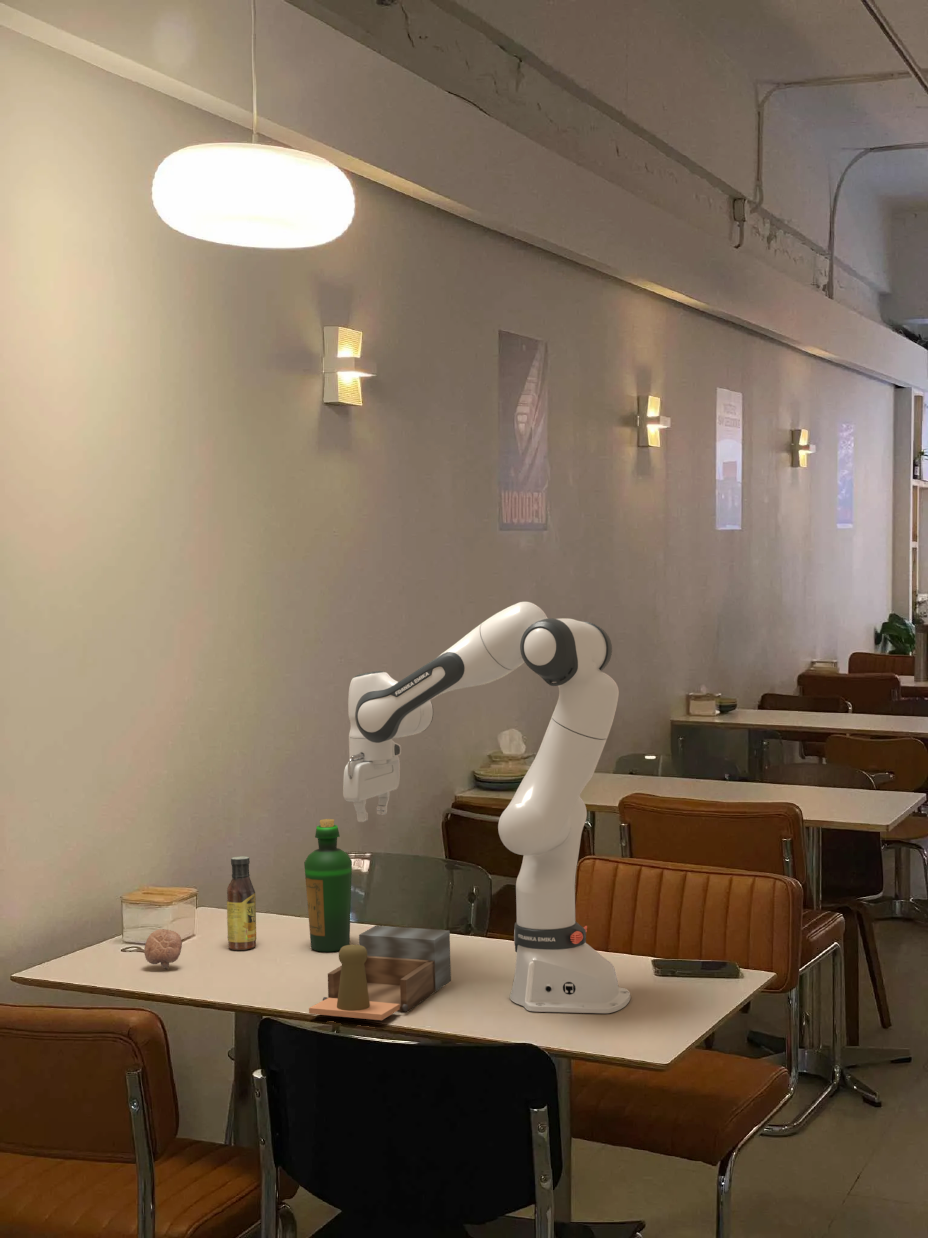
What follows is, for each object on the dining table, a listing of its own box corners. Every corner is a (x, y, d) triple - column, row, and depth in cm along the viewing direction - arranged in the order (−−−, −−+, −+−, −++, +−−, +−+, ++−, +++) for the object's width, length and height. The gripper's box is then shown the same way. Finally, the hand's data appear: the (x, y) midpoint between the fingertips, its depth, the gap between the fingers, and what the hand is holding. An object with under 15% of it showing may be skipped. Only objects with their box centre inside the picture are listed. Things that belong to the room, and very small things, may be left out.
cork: (364, 1011, 248) (364, 949, 249) (332, 1010, 250) (332, 948, 250) (373, 1003, 254) (373, 942, 255) (342, 1001, 256) (341, 941, 256)
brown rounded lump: (188, 967, 290) (187, 929, 290) (166, 974, 285) (165, 936, 285) (162, 963, 294) (161, 925, 294) (140, 970, 289) (139, 931, 289)
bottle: (312, 942, 309) (309, 816, 309) (359, 942, 308) (356, 816, 308) (300, 954, 299) (296, 824, 298) (348, 954, 297) (345, 824, 297)
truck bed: (452, 981, 275) (451, 930, 275) (405, 1015, 253) (404, 960, 253) (375, 974, 281) (374, 925, 281) (322, 1007, 259) (321, 954, 259)
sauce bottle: (254, 951, 302) (251, 860, 302) (225, 952, 302) (223, 861, 302) (258, 944, 309) (256, 854, 308) (230, 944, 309) (228, 855, 309)
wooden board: (399, 1004, 253) (381, 1014, 246) (399, 1011, 253) (381, 1022, 246) (328, 997, 259) (308, 1008, 251) (328, 1004, 259) (308, 1015, 251)
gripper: (363, 756, 274) (364, 826, 274) (404, 745, 293) (406, 811, 293) (334, 756, 276) (336, 825, 276) (377, 745, 295) (378, 810, 295)
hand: (372, 818), depth 285 cm, fingers open, 8 cm apart
